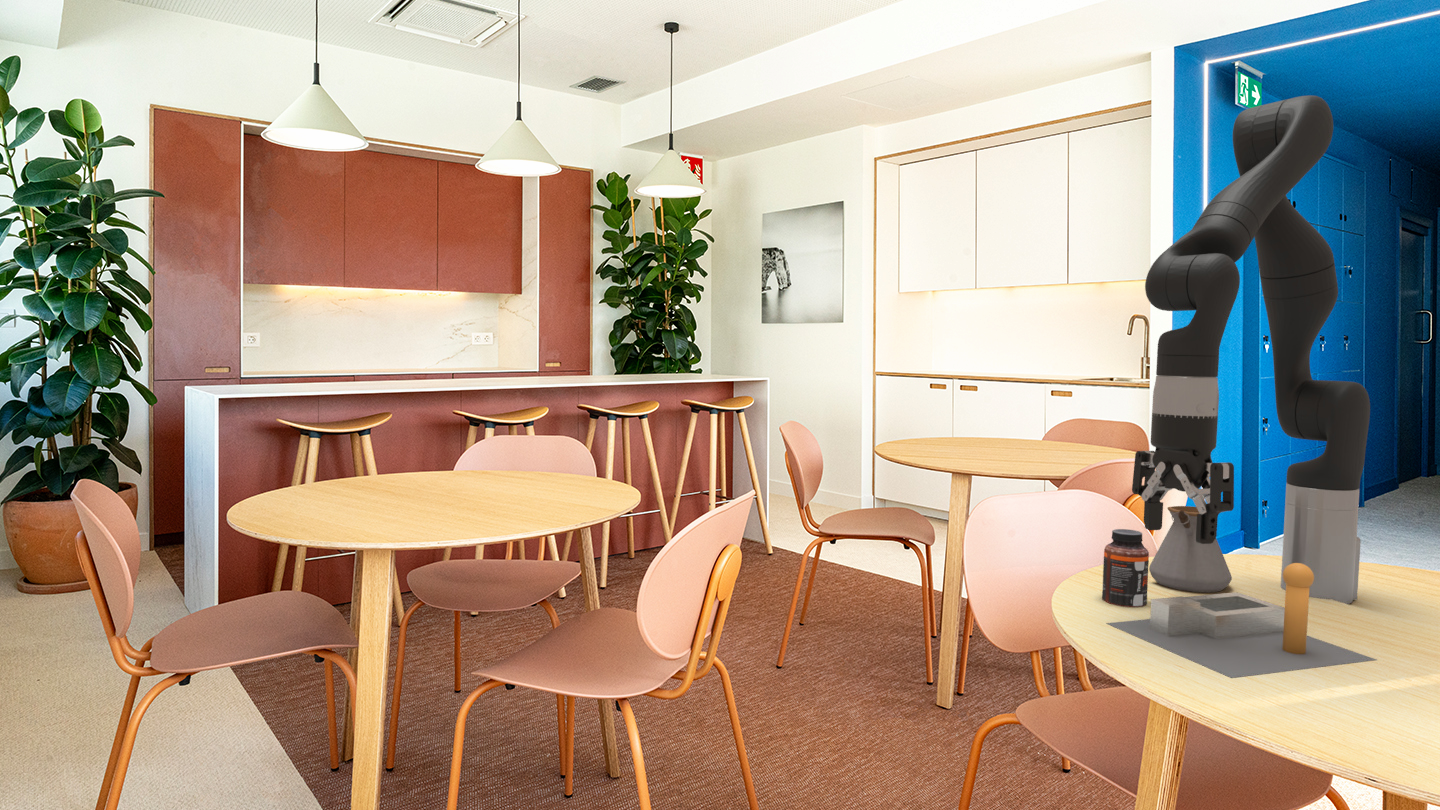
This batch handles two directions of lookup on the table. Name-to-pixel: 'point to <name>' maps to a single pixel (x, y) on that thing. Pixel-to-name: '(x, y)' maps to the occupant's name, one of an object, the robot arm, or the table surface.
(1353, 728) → the table surface
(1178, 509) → the coffee pot
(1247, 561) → the table surface
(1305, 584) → the pin
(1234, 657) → the rubber mat
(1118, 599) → the supplement bottle
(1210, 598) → the steel link
